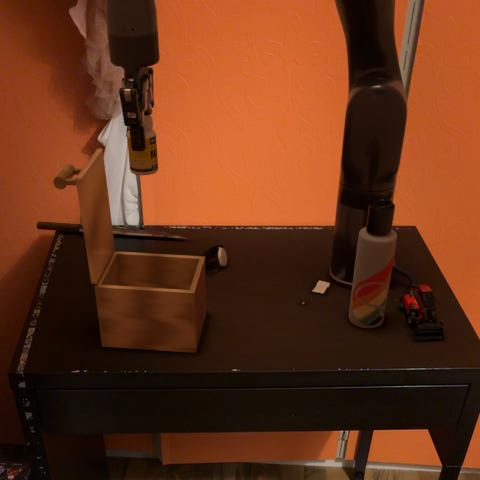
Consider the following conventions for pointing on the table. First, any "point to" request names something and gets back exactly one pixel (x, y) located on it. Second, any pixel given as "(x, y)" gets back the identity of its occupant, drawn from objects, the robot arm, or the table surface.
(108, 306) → the brown open rectangular box
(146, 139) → the supplement bottle
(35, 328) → the table surface
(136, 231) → the knife
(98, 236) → the lid
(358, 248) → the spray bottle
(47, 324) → the table surface
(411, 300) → the loader
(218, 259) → the watch
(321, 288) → the card
